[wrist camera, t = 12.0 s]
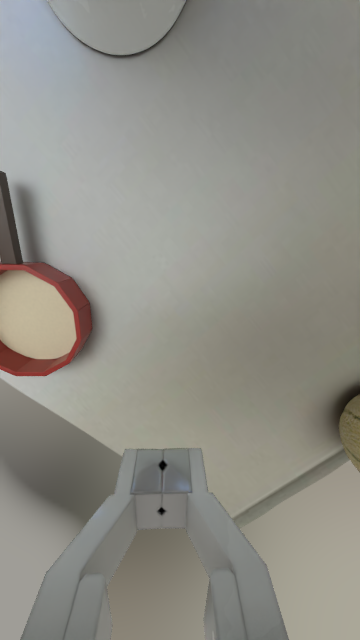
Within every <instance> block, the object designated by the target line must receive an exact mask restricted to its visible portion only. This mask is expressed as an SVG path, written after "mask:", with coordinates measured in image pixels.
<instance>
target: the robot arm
mask: <svg viewBox="0 0 360 640" xmlns="http://www.w3.org/2000/svg"><path fill="white" fill-rule="evenodd" d="M47 1H48V3H49V5H50V6H51V8H52V10H53V11H54V13H55V14H56V15H57V17H58V18H59V19H60V21H61V22H62V23H63V24H64V26H65V27H66V28H67V29H68V30H69V31H70V32H71V33H72V34H73V35H74V36H76V37H77V38H78V39H79V40H81V41H82V42H84V43H85V44H87V45H88V46H90V47H92V48H94V49H96V50H98V51H101V52H104V53H108V54H113V55H129V54H135V53H138V52H141V51H143V50H146V49H148V48H149V47H151V46H153V45H154V44H155V43H157V42H158V41H159V40H160V39H161V38H163V37H164V35H165V34H166V33H167V32H168V31H169V30H170V28H171V27H172V26H173V24H174V23H175V21H176V19H177V18H178V16H179V14H180V12H181V10H182V8H183V6H184V4H185V2H186V0H47ZM159 528H186V532H187V534H188V536H189V538H190V540H191V542H192V544H193V546H194V548H195V550H196V552H197V554H198V556H199V558H200V560H201V562H202V564H203V566H204V568H205V570H206V572H207V574H208V576H209V578H210V579H209V586H208V593H207V600H206V606H205V614H204V630H205V640H289V639H288V635H287V632H286V629H285V625H284V622H283V619H282V615H281V612H280V608H279V605H278V602H277V599H276V595H275V592H274V588H273V585H272V582H271V578H270V575H269V572H268V568H267V565H266V564H265V562H264V561H263V560H262V559H261V557H260V556H259V554H258V553H257V552H256V550H255V549H254V548H253V546H252V545H251V544H250V543H249V541H248V540H247V539H246V537H245V536H244V534H243V533H242V532H241V530H240V529H239V528H238V526H237V525H236V524H235V522H234V521H233V520H232V518H231V517H230V516H229V514H228V513H227V511H226V510H225V509H224V507H223V506H222V505H221V503H220V502H219V501H218V499H217V498H216V497H215V495H214V494H213V493H208V487H207V481H206V474H205V468H204V461H203V455H202V450H201V448H171V449H125V451H124V453H123V457H122V462H121V466H120V470H119V475H118V479H117V483H116V488H115V492H114V495H109V496H108V498H107V499H106V500H105V501H104V503H103V504H102V505H101V506H100V507H99V509H98V510H97V511H96V512H95V514H94V515H93V516H92V517H91V518H90V520H89V521H88V522H87V524H86V525H85V526H84V527H83V528H82V530H81V531H80V532H79V533H78V534H77V536H76V537H75V538H74V539H73V541H72V542H71V543H70V544H69V545H68V547H67V548H66V549H65V550H64V552H63V553H62V554H61V555H60V556H59V558H58V559H57V560H56V561H55V563H54V564H53V565H52V566H51V567H50V569H49V570H48V571H47V572H46V574H45V577H44V579H43V582H42V585H41V587H40V590H39V592H38V595H37V598H36V601H35V603H34V605H33V608H32V611H31V613H30V616H29V618H28V621H27V624H26V626H25V629H24V631H23V634H22V637H21V639H20V640H110V639H111V632H112V619H111V612H110V605H109V598H108V591H107V586H108V584H109V582H110V580H111V579H112V577H113V575H114V573H115V571H116V570H117V568H118V566H119V564H120V562H121V560H122V559H123V557H124V555H125V553H126V551H127V549H128V548H129V546H130V544H131V542H132V540H133V538H134V537H135V535H136V533H137V530H143V529H159Z"/></svg>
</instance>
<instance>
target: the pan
mask: <svg viewBox="0 0 360 640" xmlns="http://www.w3.org/2000/svg"><path fill="white" fill-rule="evenodd" d="M0 259H1V263H0V369H1V370H3V371H5V372H8V373H10V374H12V375H15V376H47V375H49V374H51V373H52V372H54V371H56V370H58V369H60V368H62V367H64V366H65V365H67V364H69V363H70V362H71V361H72V360H73V359H74V357H75V356H76V355H77V354H78V353H79V352H80V351H81V350H82V348H83V346H84V344H85V342H86V340H87V338H88V336H89V335H90V333H91V331H92V320H91V310H90V303H89V301H88V300H87V298H86V297H85V295H84V294H83V293H82V291H81V290H80V288H79V287H78V285H77V284H76V283H75V281H74V280H73V279H72V278H71V277H69V276H67V275H66V274H64V273H62V272H60V271H58V270H57V269H55V268H53V267H51V266H49V265H48V264H46V263H40V262H23V260H22V255H21V250H20V245H19V239H18V234H17V229H16V224H15V219H14V214H13V208H12V203H11V198H10V193H9V188H8V183H7V177H6V173H4V172H2V171H0Z"/></svg>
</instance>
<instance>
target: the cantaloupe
mask: <svg viewBox="0 0 360 640" xmlns="http://www.w3.org/2000/svg"><path fill="white" fill-rule="evenodd" d="M339 433H340V436H341V441H342V445H343V447H344V450H345V452H346V454H347V456H348V458H349V459H350V460H351V462H352V463H353V465H354V466H355V467H356V468H357V470H358V471H359V472H360V394H358V395H357V396H356V397H354V398H353V399H352V400H351V401H350V402H349V403H348V404H347V405H346V407H345V409H344V411H343V413H342V415H341V417H340V423H339Z"/></svg>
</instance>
